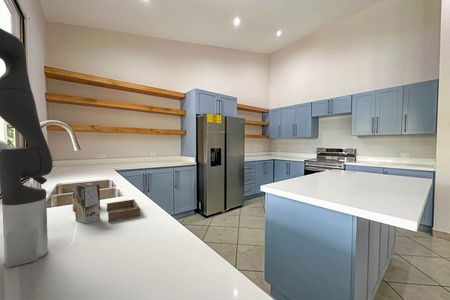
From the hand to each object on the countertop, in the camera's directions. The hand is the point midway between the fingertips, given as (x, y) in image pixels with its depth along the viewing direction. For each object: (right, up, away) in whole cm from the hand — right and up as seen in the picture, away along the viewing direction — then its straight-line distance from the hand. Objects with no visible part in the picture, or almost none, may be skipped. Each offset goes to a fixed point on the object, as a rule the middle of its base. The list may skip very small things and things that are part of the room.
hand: (45, 182), depth 79 cm
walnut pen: (+23, -18, +16) cm, 34 cm away
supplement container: (-1, -18, +24) cm, 30 cm away
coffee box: (+12, -19, +8) cm, 23 cm away
